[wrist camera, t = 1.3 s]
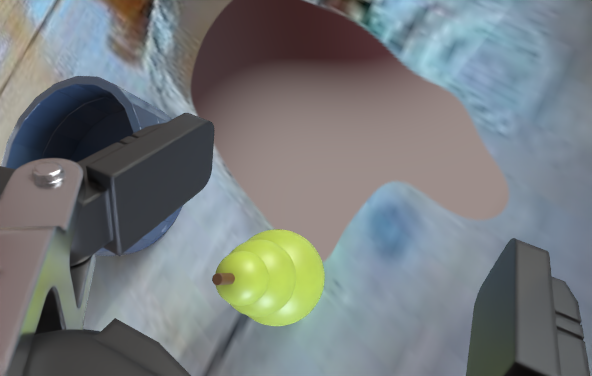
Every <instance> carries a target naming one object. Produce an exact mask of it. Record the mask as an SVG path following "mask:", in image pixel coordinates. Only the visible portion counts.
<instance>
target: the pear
mask: <svg viewBox="0 0 592 376" xmlns="http://www.w3.org/2000/svg"><path fill="white" fill-rule="evenodd" d="M324 280H325V276H324V267H323V263H322V260H321V258H320V256H319V254H318V252H317V251H316V249H315V248H314V246H313V245H312V244H311V243H310V242H309V241H308V240H306V239H305V238H304V237H302V236H300V235H299V234H296V233H294V232H291V231H287V230H280V229H276V230H267V231H264V232H261V233H259V234H256V235H254V236H253V237H251V238H250V239H249V240H247V241H246V242H245V243H243V244H241V245H239V246H238V247H236V248H235V249H234V250H233V251H232V252H231V253H230V254H229V255H228V256H226V257H225V258H224V259H223V260H222V261H221V262H220V264H219V266H218V268H217V270H216V274H215V275H214V276H213V278H212V281H213V283H214V284H215V285H216V288H217V291H218V293H219V294H220V296H221V297H222V298H223V299H224V300H225V301H227V302H228V303H230V305H231V306H232V307H233V308H235V309H236V310H237V311H239V312H241V313H243V314H245V315H247V316H249V317H250V318H251V319H253V320H255V321H257V322H259V323H261V324H265V325H270V326H284V325H289V324H292V323H295V322H297V321H299V320H300V319H302V318H304V317H305V316H306V315H308V314H309V313H310V312H311V311H312V310H313V308H314V307H315V306H316V304H317V303H318V301H319V299H320V297H321V294H322V291H323V287H324Z"/></svg>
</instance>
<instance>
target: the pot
mask: <svg viewBox="0 0 592 376" xmlns="http://www.w3.org/2000/svg"><path fill="white" fill-rule="evenodd" d="M170 120H172V119H171V118H170V117H169V116H168V115H166V114H165V113H164V112H163V111H161V110H159V109H158V108H156V107H154V106H152V105H151V104H149V103H147V102H145V101H143V100H142V99H140V98H138V97H136V96H135V95H133V94H131V93H129V92H127V91H126V90H124V89H122V88H120V87H118V86H117V85H115V84H112V83H110V82H108V81H106V80H104V79H102V78H100V77H90V76H76V77H73V78H70V79H67V80H64V81H61V82H58V83H56V84H54V85H53V86H51V87H50V88H48V89H47V90H46V91H44V92H43V93H42V94H40V95H39V96H37V97H36V98H35V99H34V101H33V102H32V103H31V104H30V105H29V107H28V108H27V109H26V110H25V111H24V113H23V114H22V115H21V116H20V118H19V119H18V121H17V123H16V125H15V127H14V129H13V131H12V133H11V135H10V137H9V139H8V142H7V145H6V148H5V152H4V156H3V160H2V164H1V167H7V168H12V169H17V168H19V167H20V166H22V165H24V164H26V163H29V162H31V161H35V160H39V159H46V158H62V159H67V160H71V161H73V162H76V163H77V162H79V161H81V160H83V159H85V158H87V157H89V156H90V155H92V154H94V153H96V152H98V151H100V150H102V149H104V148H106V147H108V146H110V145H112V144H114V143H116V142H118V143H119V142H120V140H122V139H123V138H125V137H127V136H131V135H132V134H133V133H135V132H137V131H139V130H141V129H143V128H145V127H148V126H152V125H157V124H161V123H167V122H169V121H170ZM181 208H182V206H181V207H180V208H179V209H178V210H176V211H175V212H174V213H173V214H171V215H170V216H169V217H168V218H166V219H165V220H164V221H163V222H161V223H160V224H159V225H158V226H156V227H155V228H154V229H153V230H152V231H150V232H149V233H148V234H147V235H145V236H144V237H143V238H142V239H140V240H139V241H138V242H137V243H135V244H134V245H133V246H132V247H130V248H129V249H128V250H127V251H125V252H124V253H123V254H122V255H126V254H131V253H134V252H137V251H140V250H142V249H144V248H146V247H148V246H149V245H151V244H152V243H154V242H155V241H157V240H158V239H159V238H160V237H161V236H162V235H163V234H164V233H165V232H166V231H167V230H168V229H169V228H170V226H171V225H172V224H173V222H174V221H175V219H176V218H177V216H178V214H179V212H180V210H181ZM95 255H97V256H116V254H114V253H112V252H110V251H108V250H106V249H104V248H103V247H102V248H101V249H100V250H98V251H97V252H96V253H95Z"/></svg>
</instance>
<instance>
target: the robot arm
mask: <svg viewBox="0 0 592 376" xmlns="http://www.w3.org/2000/svg"><path fill="white" fill-rule="evenodd" d="M213 143H214V125H213V124H212V122H210V121H207V120H205V119H202V118H200V117H197V116H195V115H192V114H189V113H184V114H182V115H180V116H178V117H176V118H174V119H172V120H170V121H169V122H167V123H161V124H157V125H152V126H148V127H145V128H143V129H141V130H139V131H137V132H135V133H133V134H132V135H131V136H127V137H125V138H123V139H122V140H120V142H119V143H118V142H116V143H114V144H112V145H110V146H108V147H106V148H104V149H102V150H100V151H98V152H96V153H94V154H92V155H90V156H89V157H87V158H85V159H83V160H81V161H79V162H77V163H76V162H73V161H71V160H67V159H62V158H46V159H39V160H35V161H31V162H29V163H26V164H24V165H22V166H20V167H19V168H17V169H12V168H7V167H1V166H0V376H191V375H190V374H189V373H188V372H187V371H186V370H185V369H184V368H183V367H182V366H181V365H180V364H179V363H178V362H177V361H176V360H175V359H174V358H173V357H172V356H171V355H170V354H169V353H168V352H167V351H166V350H165V349H164V348H163V346H162V345H161V344H160V343H159V342H157V341H155V340H153V339H151V338H150V337H148V336H146V335H144V334H142V333H141V332H139V331H137V330H135V329H133V328H132V327H130V326H128V325H126V324H124V323H123V322H121V321H119V320H117V319H114V320H113V321H112V322H111V323H110V324H108V325H107V326H106V327H105V328H104V329H103V330H102V331H101V332H100V331H94V330H85V329H83V323H84V317H85V312H86V307H87V302H88V297H89V292H90V287H91V283H92V278H93V273H94V268H95V263H96V258H95V253H96V252H97V251H98V250H100V249H101V248H102V247H103V248H104V249H106V250H108V251H110V252H112V253H114V254H116V255H118V256H121V255H122V254H123V253H124V252H125V251H127V250H128V249H129V248H130V247H132V246H133V245H134V244H135V243H137V242H138V241H139V240H140V239H142V238H143V237H144V236H145V235H147V234H148V233H149V232H150V231H152V230H153V229H154V228H155V227H156V226H158V225H159V224H160V223H161V222H163V221H164V220H165V219H166V218H168V217H169V216H170V215H171V214H173V213H174V212H175V211H176V210H178V209H179V208H180V207H181V206H183V205H184V204H185V203H186V202H187V201H189V200H190V199H191V198H192V197H194V196H195V195H196V194H197V193H199V192H200V191H201V190H202V189H203V188H204V187H205V186H206V184H207V182H208V180H209V178H210V175H211V171H212V159H213ZM580 323H581V317H580V311H579V305H578V302H577V300H576V298H575V297H574V295H573V294H572V292H571V290H570V289H569V287H568V286H567V284H566V283H565V282H564V281H562V280H559V279H556V278H554V277H551V267H550V257H549V253H548V251H546V250H543V249H541V248H538V247H535V246H533V245H530V244H527V243H525V242H522V241H520V240H517V239H514V238H513V239H511V240H510V241H509V242H508V244H507V245H506V247H505V248H504V250H503V252H502V253H501V255H500V256H499V258H498V260H497V261H496V263H495V265H494V266H493V268H492V269H491V271H490V273H489V274H488V276H487V278H486V279H485V281H484V282H483V284H482V286H481V288H480V290H479V293H478V295H477V298H476V301H475V305H474V312H473V320H472V329H471V338H470V346H469V355H468V364H467V372H466V376H590V371H589V365H588V359H587V353H586V347H585V342H584V341H583V338H584V335H583V329H582V325H580Z"/></svg>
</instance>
